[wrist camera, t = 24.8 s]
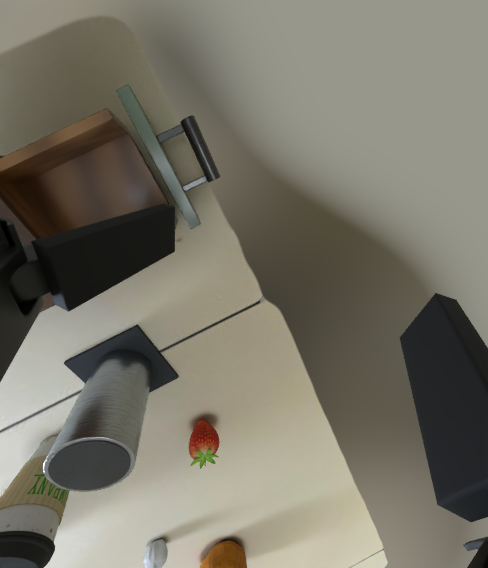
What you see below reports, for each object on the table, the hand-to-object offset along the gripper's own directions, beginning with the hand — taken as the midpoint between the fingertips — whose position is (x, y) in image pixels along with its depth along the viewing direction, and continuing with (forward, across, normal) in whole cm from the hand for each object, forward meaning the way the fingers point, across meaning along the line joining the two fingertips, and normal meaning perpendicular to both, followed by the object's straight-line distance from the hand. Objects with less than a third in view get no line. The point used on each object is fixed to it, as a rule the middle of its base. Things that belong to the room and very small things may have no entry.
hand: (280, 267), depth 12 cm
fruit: (+10, -7, -43) cm, 45 cm away
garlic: (-3, -9, -82) cm, 83 cm away
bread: (+4, +7, -96) cm, 97 cm away
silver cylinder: (+5, -20, -30) cm, 36 cm away
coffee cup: (-4, -27, -46) cm, 53 cm away
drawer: (+11, -21, -3) cm, 24 cm away
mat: (+5, -20, -30) cm, 36 cm away
